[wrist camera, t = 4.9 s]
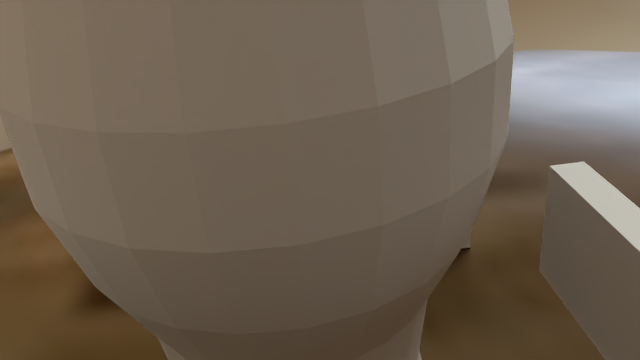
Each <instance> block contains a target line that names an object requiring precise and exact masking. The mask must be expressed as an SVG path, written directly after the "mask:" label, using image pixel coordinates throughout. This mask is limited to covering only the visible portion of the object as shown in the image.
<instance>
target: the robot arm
mask: <svg viewBox="0 0 640 360" xmlns="http://www.w3.org/2000/svg"><path fill="white" fill-rule="evenodd" d="M539 271H540V272H541V273H542V275H543V276H544V277H545V279H546V280H547V281H548V283H549V284H550V286H551V287H552V288H553V290H554V291H555V292H556V294H557V295H558V296H559V298H560V299H561V300H562V302H563V303H564V305H565V306H566V307H567V309H568V310H569V311H570V313H571V314H572V315H573V317H574V318H575V319H576V321H577V322H578V323H579V325H580V326H581V328H582V329H583V330H584V332H585V333H586V334H587V336H588V337H589V338H590V340H591V341H592V342H593V344H594V345H595V346H596V348H597V349H598V351H599V352H600V353H601V355H602V356H603V357H604V359H605V360H640V208H639V207H637V206H636V205H635V204H634V203H633V202H631V201H630V200H629V199H628V198H627V197H625V196H624V195H623V194H622V193H621V192H620V191H618V190H617V189H616V188H615V187H614V186H612V185H611V184H610V183H609V182H608V181H606V180H605V179H604V178H603V177H602V176H600V175H599V174H598V173H597V172H596V171H595V170H593V169H592V168H591V167H590V166H589V165H587V164H586V163H585V162H578V163H569V164H561V165H553V166H550V169H549V178H548V188H547V198H546V208H545V218H544V228H543V238H542V248H541V257H540V267H539Z"/></svg>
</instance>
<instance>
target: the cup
mask: <svg viewBox="0 0 640 360" xmlns="http://www.w3.org/2000/svg"><path fill="white" fill-rule="evenodd" d="M513 49H514V35H513V30H512V24H511V18H510V13H509V7H508V1H507V0H0V116H1V119H2V121H3V124H4V127H5V130H6V133H7V136H8V138H9V141H10V144H11V147H12V150H13V152H14V155H15V158H16V161H17V163H18V166H19V169H20V172H21V175H22V177H23V180H24V183H25V186H26V188H27V191H28V193H29V196H30V198H31V201H32V203H33V206H34V208H35V210H36V211H37V212H38V214H39V215H40V216H41V217H42V219H43V220H44V221H45V223H46V224H47V225H48V226H49V228H50V229H51V230H52V232H53V233H54V234H55V236H56V237H57V238H58V239H59V241H60V242H61V243H62V245H63V246H64V247H65V249H66V250H67V251H68V252H69V254H70V255H71V256H72V258H73V259H74V260H75V261H76V263H77V264H78V265H79V267H80V268H81V269H82V271H83V272H84V273H85V274H86V276H87V277H88V278H89V280H90V281H91V282H92V283H93V285H94V286H95V287H96V288H97V289H98V290H99V291H100V292H102V293H103V294H104V295H105V296H107V297H108V298H109V299H110V300H112V301H113V302H114V303H115V304H117V305H118V306H119V307H120V308H122V309H123V310H124V311H125V312H127V313H128V314H129V315H130V316H132V317H133V318H134V319H135V320H137V321H138V322H139V323H140V324H142V325H143V326H144V327H145V328H147V329H148V330H149V331H150V332H152V333H153V334H154V335H155V336H157V337H158V339H159V341H160V343H161V345H162V347H163V350H164V352H165V354H166V356H167V358H168V360H422V359H421V355H420V351H419V346H420V340H421V334H422V328H423V322H424V316H425V310H426V304H427V299H428V297H429V296H430V294H431V293H432V292H433V290H434V289H435V287H436V286H437V284H438V283H439V281H440V280H441V278H442V277H443V276H444V274H445V273H446V271H447V270H448V268H449V267H450V265H451V264H452V263H453V261H454V260H455V258H456V257H457V255H458V253H459V252H460V250H461V248H462V246H463V244H464V242H465V241H466V239H467V237H468V235H469V233H470V231H471V230H472V228H473V226H474V223H475V221H476V218H477V216H478V213H479V210H480V208H481V205H482V203H483V200H484V197H485V195H486V192H487V190H488V187H489V184H490V182H491V179H492V177H493V174H494V171H495V169H496V166H497V164H498V161H499V158H500V156H501V153H502V151H503V148H504V146H505V143H506V140H507V136H508V122H509V107H510V93H511V78H512V64H513Z"/></svg>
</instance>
